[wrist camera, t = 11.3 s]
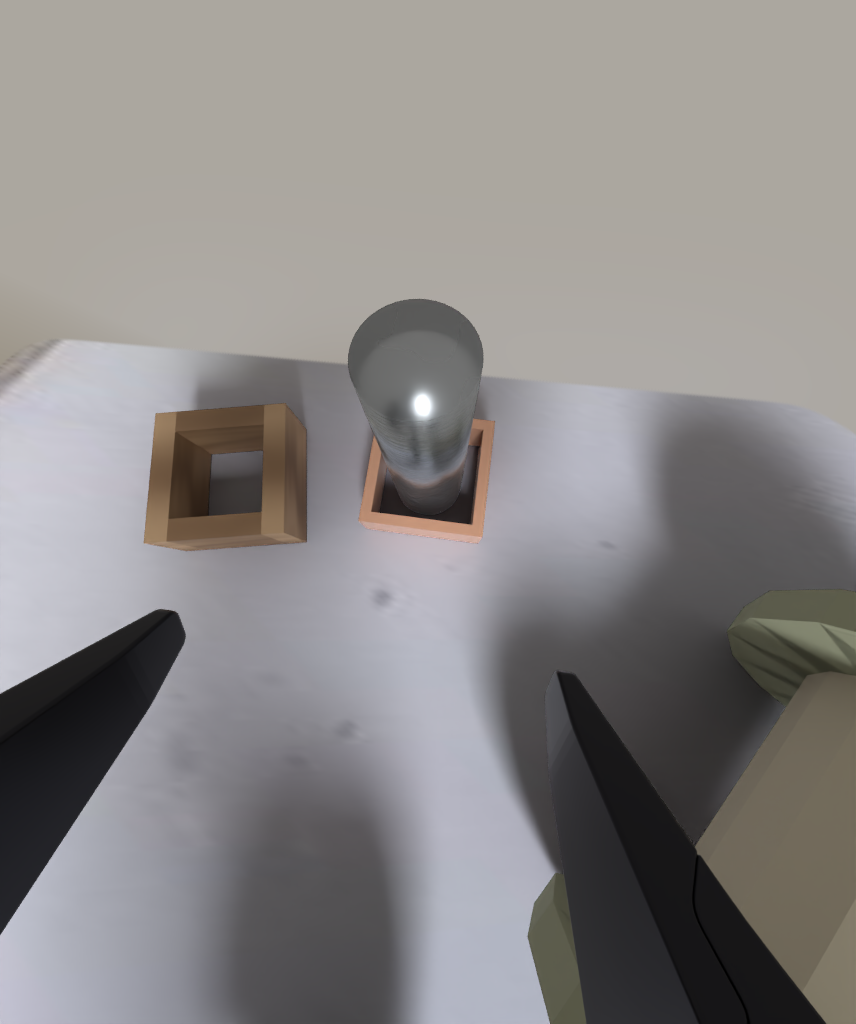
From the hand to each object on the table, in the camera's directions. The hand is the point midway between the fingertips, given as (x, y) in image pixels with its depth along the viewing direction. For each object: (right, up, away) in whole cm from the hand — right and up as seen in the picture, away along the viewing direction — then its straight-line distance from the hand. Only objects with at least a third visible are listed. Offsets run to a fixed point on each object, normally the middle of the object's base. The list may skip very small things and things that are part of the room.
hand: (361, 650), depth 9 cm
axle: (+2, +5, +15) cm, 16 cm away
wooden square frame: (-10, +5, +15) cm, 19 cm away
